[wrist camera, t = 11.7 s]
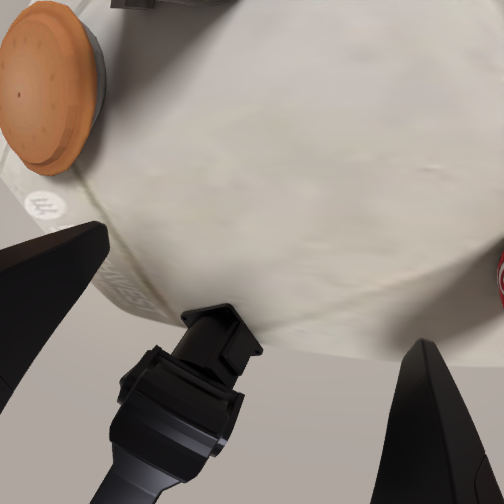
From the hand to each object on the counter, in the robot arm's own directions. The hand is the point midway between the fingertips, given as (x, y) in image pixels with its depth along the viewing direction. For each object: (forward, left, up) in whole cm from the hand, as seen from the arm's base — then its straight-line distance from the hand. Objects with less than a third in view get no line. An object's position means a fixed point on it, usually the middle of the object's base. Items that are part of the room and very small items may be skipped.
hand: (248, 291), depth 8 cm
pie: (-16, +16, -13) cm, 26 cm away
